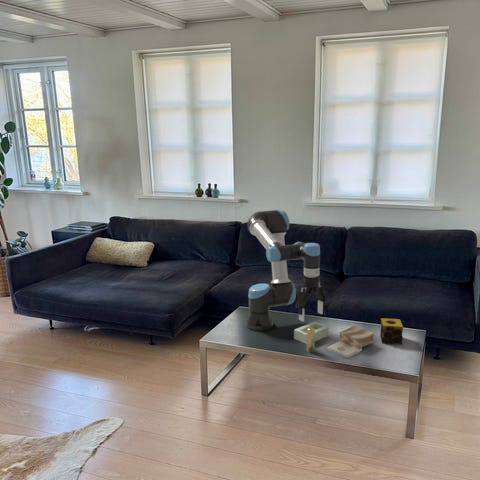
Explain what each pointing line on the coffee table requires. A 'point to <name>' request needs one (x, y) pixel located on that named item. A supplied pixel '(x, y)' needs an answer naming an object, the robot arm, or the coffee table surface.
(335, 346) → the board
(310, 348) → the peg
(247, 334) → the coffee table surface
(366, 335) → the tan layered block
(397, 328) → the candle
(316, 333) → the socket board
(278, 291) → the robot arm
